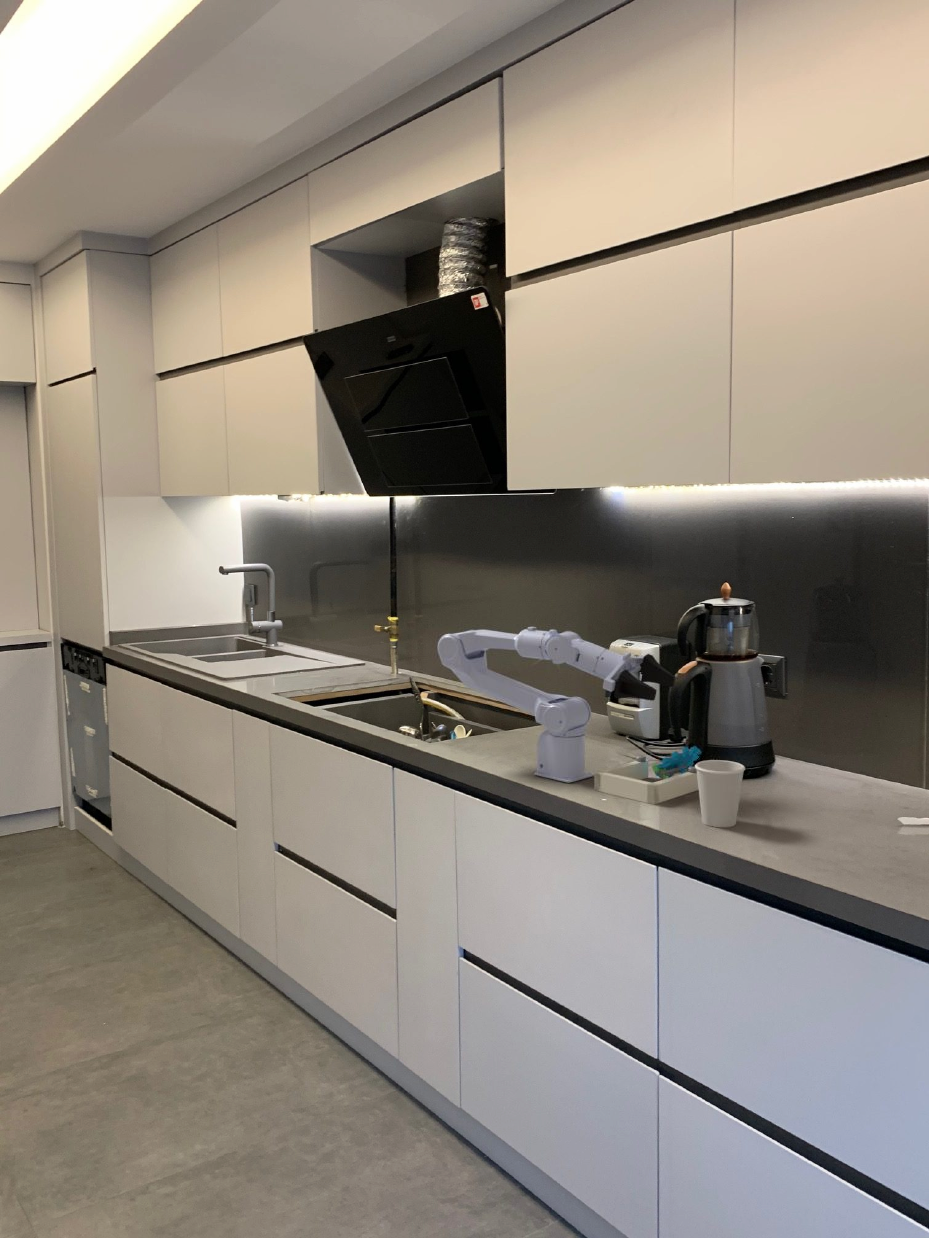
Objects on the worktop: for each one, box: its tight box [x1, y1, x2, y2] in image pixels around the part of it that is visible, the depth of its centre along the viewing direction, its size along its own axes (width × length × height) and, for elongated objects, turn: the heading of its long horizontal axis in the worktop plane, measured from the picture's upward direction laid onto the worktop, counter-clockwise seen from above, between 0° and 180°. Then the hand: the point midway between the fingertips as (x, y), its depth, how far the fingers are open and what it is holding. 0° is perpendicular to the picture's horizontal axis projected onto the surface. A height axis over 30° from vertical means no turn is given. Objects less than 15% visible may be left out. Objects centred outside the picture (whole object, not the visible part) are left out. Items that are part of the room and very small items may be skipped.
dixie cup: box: [694, 759, 746, 828], centre depth 184 cm, size 8×8×10 cm
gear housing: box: [594, 755, 699, 806], centre depth 206 cm, size 14×15×4 cm
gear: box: [651, 745, 702, 780], centre depth 211 cm, size 11×6×10 cm
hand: (664, 688), depth 202 cm, fingers open, 7 cm apart
